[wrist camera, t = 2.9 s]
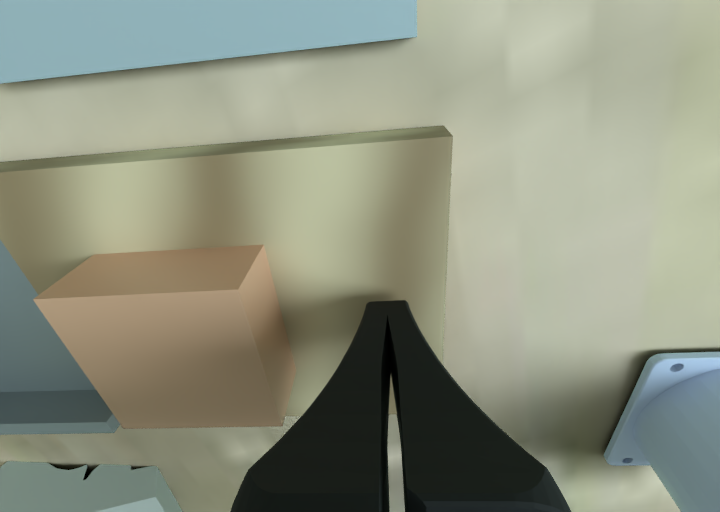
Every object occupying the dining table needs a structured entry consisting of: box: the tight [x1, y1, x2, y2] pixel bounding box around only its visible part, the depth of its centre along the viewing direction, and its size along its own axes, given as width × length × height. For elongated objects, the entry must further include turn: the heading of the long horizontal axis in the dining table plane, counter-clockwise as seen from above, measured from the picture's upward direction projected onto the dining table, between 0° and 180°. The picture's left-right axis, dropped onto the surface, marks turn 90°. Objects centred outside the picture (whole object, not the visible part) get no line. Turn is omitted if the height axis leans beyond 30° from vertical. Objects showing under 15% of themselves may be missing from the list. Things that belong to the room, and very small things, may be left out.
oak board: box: [0, 126, 453, 416], centre depth 14 cm, size 15×12×2 cm
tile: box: [33, 245, 296, 429], centre depth 12 cm, size 6×6×2 cm
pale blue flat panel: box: [0, 0, 417, 84], centre depth 10 cm, size 14×4×1 cm, turn 96°
